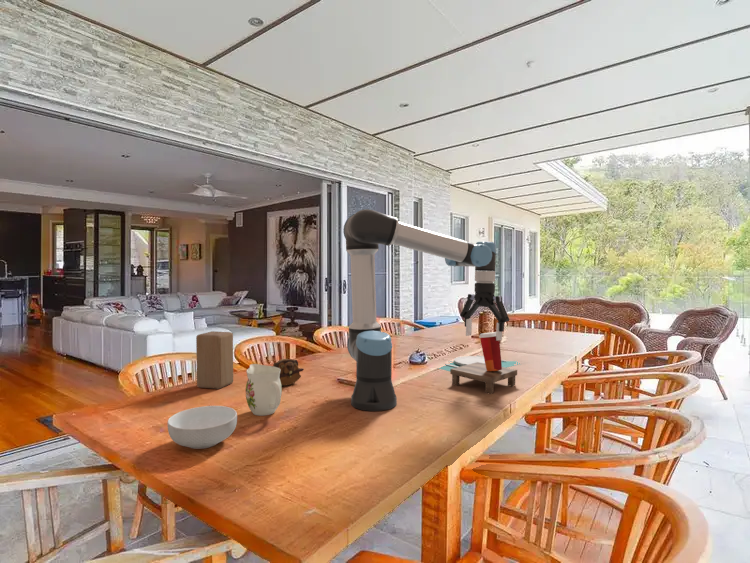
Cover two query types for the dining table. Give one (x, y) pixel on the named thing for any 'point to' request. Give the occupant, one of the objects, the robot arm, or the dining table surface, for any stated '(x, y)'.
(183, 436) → the cereal bowl
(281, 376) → the wooden carving
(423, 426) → the dining table surface
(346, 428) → the dining table surface
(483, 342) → the paper cup
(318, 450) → the dining table surface
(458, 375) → the walnut stand
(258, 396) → the pitcher
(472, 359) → the place mat
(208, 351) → the block
